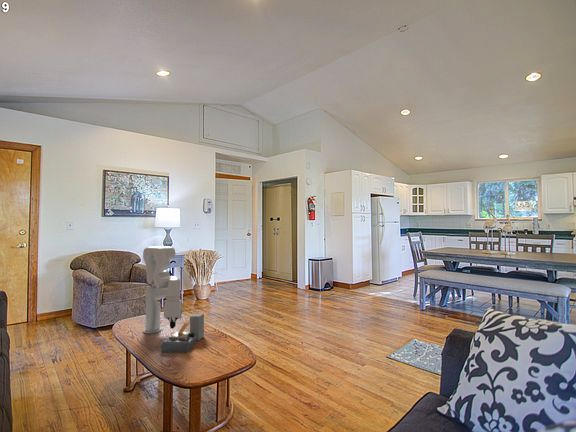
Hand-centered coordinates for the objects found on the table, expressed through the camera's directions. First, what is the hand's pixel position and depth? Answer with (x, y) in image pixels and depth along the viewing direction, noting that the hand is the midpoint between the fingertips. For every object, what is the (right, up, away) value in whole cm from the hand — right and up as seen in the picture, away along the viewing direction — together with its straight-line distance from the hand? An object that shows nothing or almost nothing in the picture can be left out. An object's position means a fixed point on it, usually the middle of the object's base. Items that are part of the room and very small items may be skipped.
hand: (172, 327), depth 189 cm
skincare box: (+11, -13, +14) cm, 22 cm away
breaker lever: (+5, -4, 0) cm, 6 cm away
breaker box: (+4, -12, -1) cm, 13 cm away
